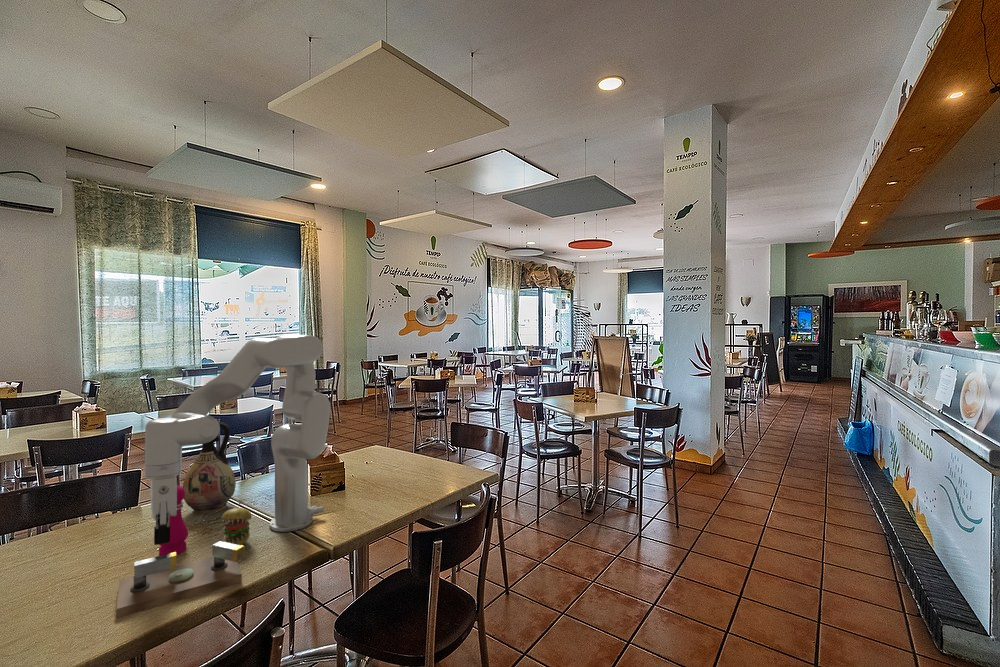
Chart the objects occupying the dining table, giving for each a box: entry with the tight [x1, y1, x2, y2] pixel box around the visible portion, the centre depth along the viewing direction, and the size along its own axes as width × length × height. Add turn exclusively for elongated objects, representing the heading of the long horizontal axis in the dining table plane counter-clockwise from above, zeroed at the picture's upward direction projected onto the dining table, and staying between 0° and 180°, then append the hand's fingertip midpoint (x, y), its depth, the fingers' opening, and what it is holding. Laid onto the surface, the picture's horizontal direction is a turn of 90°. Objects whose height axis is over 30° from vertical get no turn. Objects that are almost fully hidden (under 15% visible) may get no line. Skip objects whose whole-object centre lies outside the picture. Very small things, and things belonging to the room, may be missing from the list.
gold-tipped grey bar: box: [211, 540, 245, 567], centre depth 119 cm, size 8×2×6 cm, turn 71°
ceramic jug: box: [182, 421, 237, 516], centre depth 160 cm, size 17×15×30 cm
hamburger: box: [220, 499, 252, 546], centre depth 136 cm, size 8×7×12 cm
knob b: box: [132, 552, 178, 589], centre depth 112 cm, size 8×2×6 cm, turn 127°
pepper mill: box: [158, 484, 189, 556], centre depth 131 cm, size 7×7×20 cm
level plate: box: [116, 556, 243, 619], centre depth 115 cm, size 24×14×3 cm, turn 127°
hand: (162, 542), depth 117 cm, fingers closed
